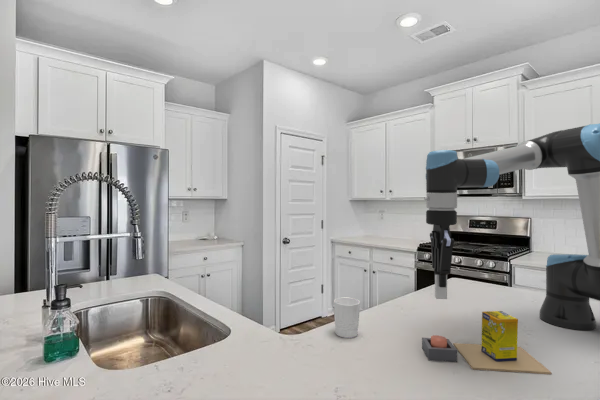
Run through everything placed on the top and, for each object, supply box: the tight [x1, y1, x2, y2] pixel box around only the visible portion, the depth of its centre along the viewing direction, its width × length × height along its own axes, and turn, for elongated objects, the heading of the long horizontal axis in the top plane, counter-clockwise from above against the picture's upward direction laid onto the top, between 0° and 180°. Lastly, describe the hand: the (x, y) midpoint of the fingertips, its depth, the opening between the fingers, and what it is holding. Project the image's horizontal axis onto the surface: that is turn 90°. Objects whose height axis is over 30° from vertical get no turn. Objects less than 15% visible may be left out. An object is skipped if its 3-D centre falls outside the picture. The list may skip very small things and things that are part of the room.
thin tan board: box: [452, 342, 552, 375], centre depth 90 cm, size 18×14×1 cm
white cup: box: [333, 296, 361, 339], centre depth 105 cm, size 8×8×10 cm
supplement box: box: [480, 310, 519, 362], centre depth 90 cm, size 6×6×11 cm
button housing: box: [421, 337, 458, 363], centre depth 91 cm, size 7×7×3 cm
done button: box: [430, 334, 448, 348], centre depth 91 cm, size 4×4×4 cm
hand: (440, 298), depth 91 cm, fingers closed
